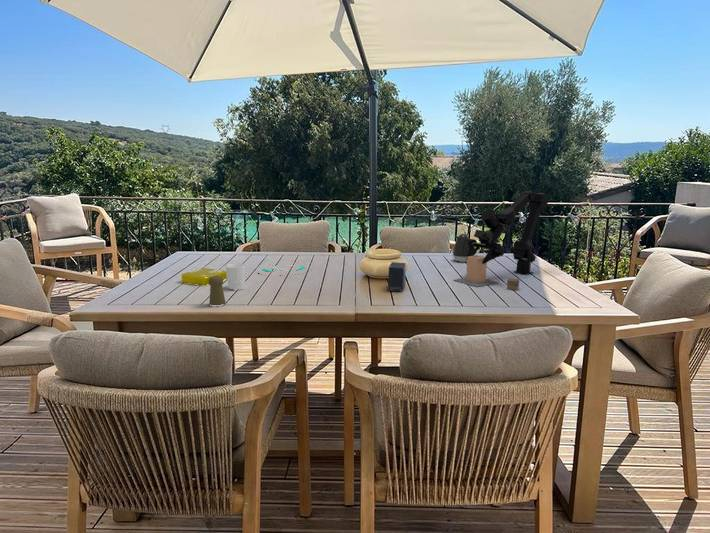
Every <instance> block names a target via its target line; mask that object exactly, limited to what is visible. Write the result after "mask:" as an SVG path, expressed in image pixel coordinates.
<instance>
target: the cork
mask: <svg viewBox="0 0 710 533" xmlns="http://www.w3.org/2000/svg"><path fill="white" fill-rule="evenodd" d="M209 284H210V285H209V287H210V288H209V303H208V305H209V304H211V305H221V304H225V303H226V298H225V293H224V288H223V284H224V281H223V278H222V277H221V276H212V277H210V278H209ZM226 304H227V303H226Z"/></svg>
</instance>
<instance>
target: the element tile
mask: <svg viewBox="0 0 710 533" xmlns="http://www.w3.org/2000/svg"><path fill="white" fill-rule="evenodd" d="M180 276H181V283H182V282H183V283H182V284H185V283H191V284H198V285H207V284H209V278H210V277H212V276H221V277H222V278H223V280H224V279H227V271H226V270H223V269H214V268H207V267H203V268H199V269H194V270H191V271H188V272H183V273H181V275H180ZM191 284H190V285H191ZM198 285H197V286H198Z"/></svg>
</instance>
